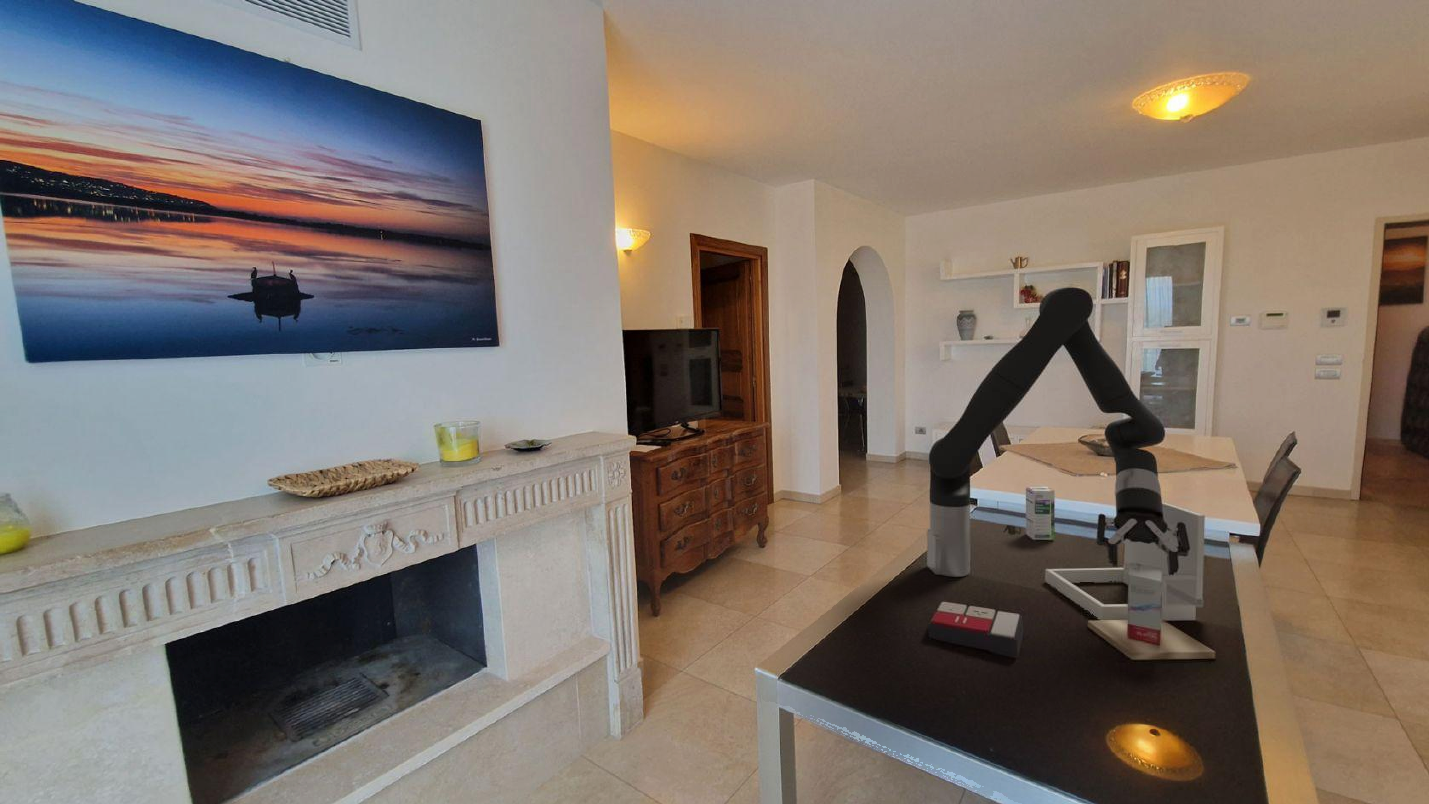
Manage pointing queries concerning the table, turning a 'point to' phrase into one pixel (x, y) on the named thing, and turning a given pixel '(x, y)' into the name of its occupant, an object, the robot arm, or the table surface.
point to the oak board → (1170, 647)
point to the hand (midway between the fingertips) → (1142, 569)
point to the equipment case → (1177, 589)
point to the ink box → (1144, 603)
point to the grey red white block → (978, 628)
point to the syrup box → (1040, 513)
